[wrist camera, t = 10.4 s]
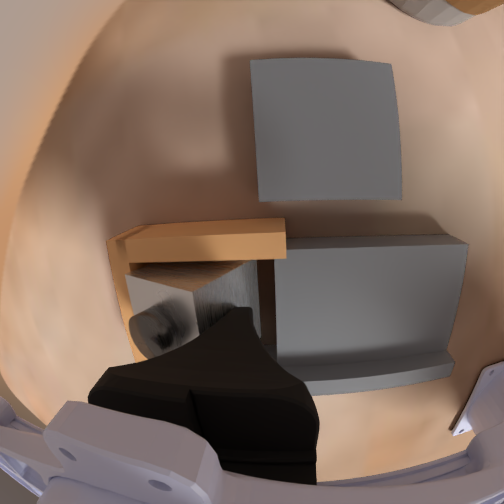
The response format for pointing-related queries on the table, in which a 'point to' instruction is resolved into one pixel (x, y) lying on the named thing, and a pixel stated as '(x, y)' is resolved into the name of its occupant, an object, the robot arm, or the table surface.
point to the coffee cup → (445, 10)
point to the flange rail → (327, 296)
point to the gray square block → (326, 130)
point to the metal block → (187, 300)
